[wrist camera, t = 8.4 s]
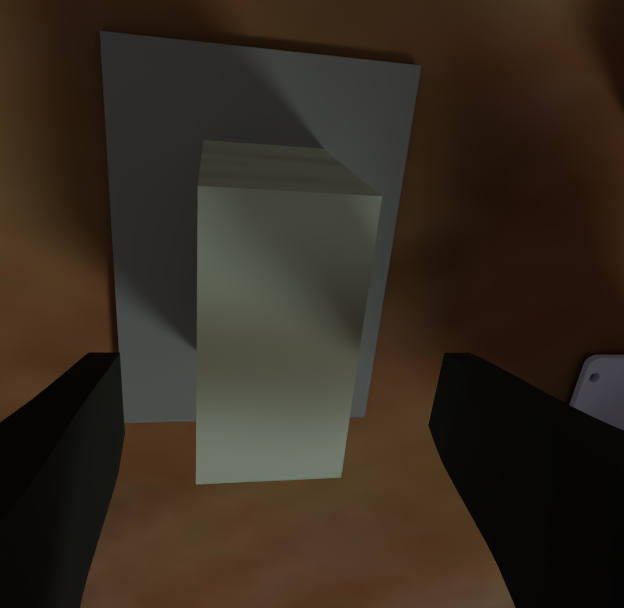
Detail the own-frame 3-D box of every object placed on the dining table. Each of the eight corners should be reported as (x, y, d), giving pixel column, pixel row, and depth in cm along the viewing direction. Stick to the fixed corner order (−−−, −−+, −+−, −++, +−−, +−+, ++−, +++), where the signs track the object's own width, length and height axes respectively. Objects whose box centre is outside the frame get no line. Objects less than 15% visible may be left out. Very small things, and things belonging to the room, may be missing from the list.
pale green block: (303, 354, 21) (340, 477, 15) (201, 354, 21) (196, 484, 14) (323, 148, 18) (382, 196, 12) (203, 139, 17) (197, 185, 11)
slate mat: (362, 411, 23) (364, 416, 23) (124, 416, 22) (123, 422, 21) (417, 65, 18) (421, 65, 17) (102, 31, 16) (99, 30, 16)
